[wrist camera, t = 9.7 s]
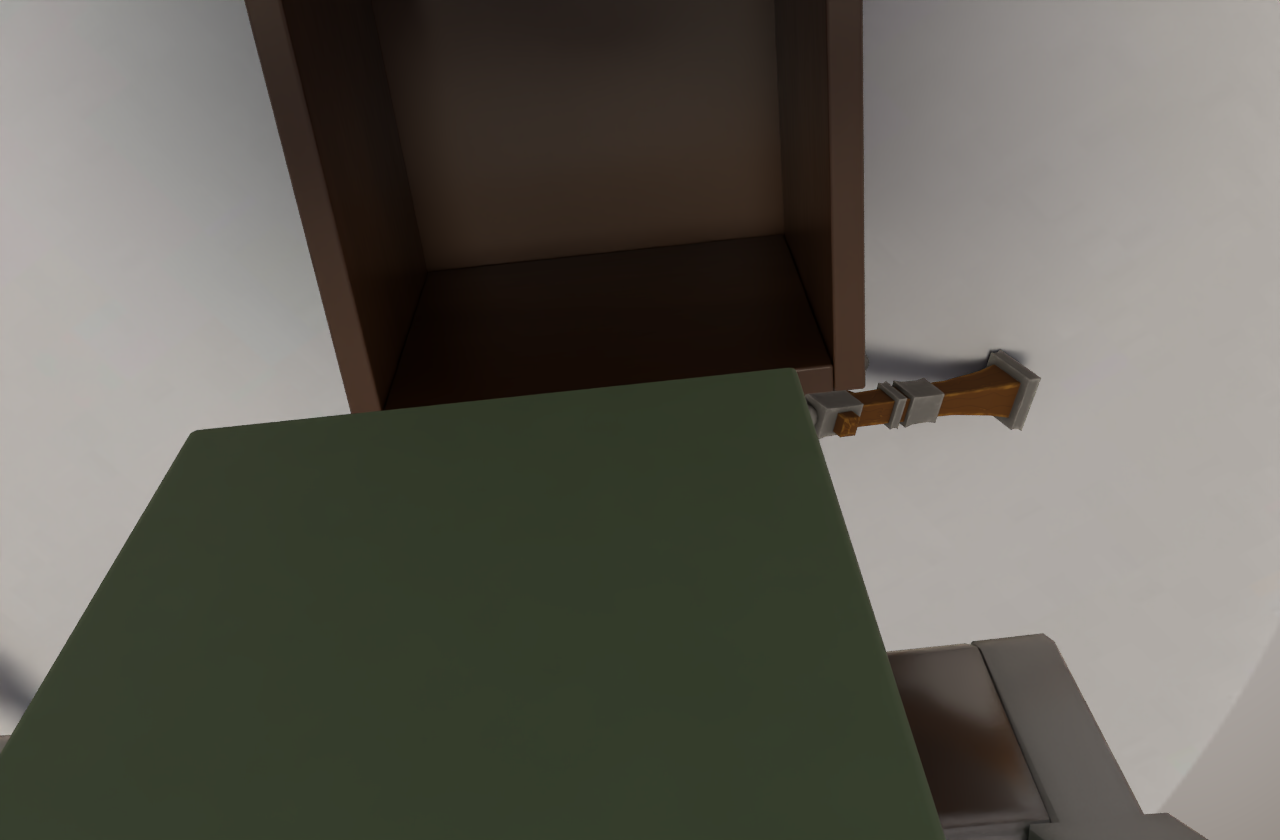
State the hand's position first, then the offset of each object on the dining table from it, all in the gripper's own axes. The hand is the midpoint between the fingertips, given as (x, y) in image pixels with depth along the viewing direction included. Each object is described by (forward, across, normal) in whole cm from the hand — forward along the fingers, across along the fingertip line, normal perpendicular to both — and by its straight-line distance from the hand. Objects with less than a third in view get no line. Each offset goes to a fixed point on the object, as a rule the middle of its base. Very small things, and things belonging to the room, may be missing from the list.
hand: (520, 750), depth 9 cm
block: (+1, 0, 0) cm, 1 cm away
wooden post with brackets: (+26, -8, +11) cm, 29 cm away
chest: (+25, 0, -1) cm, 25 cm away
